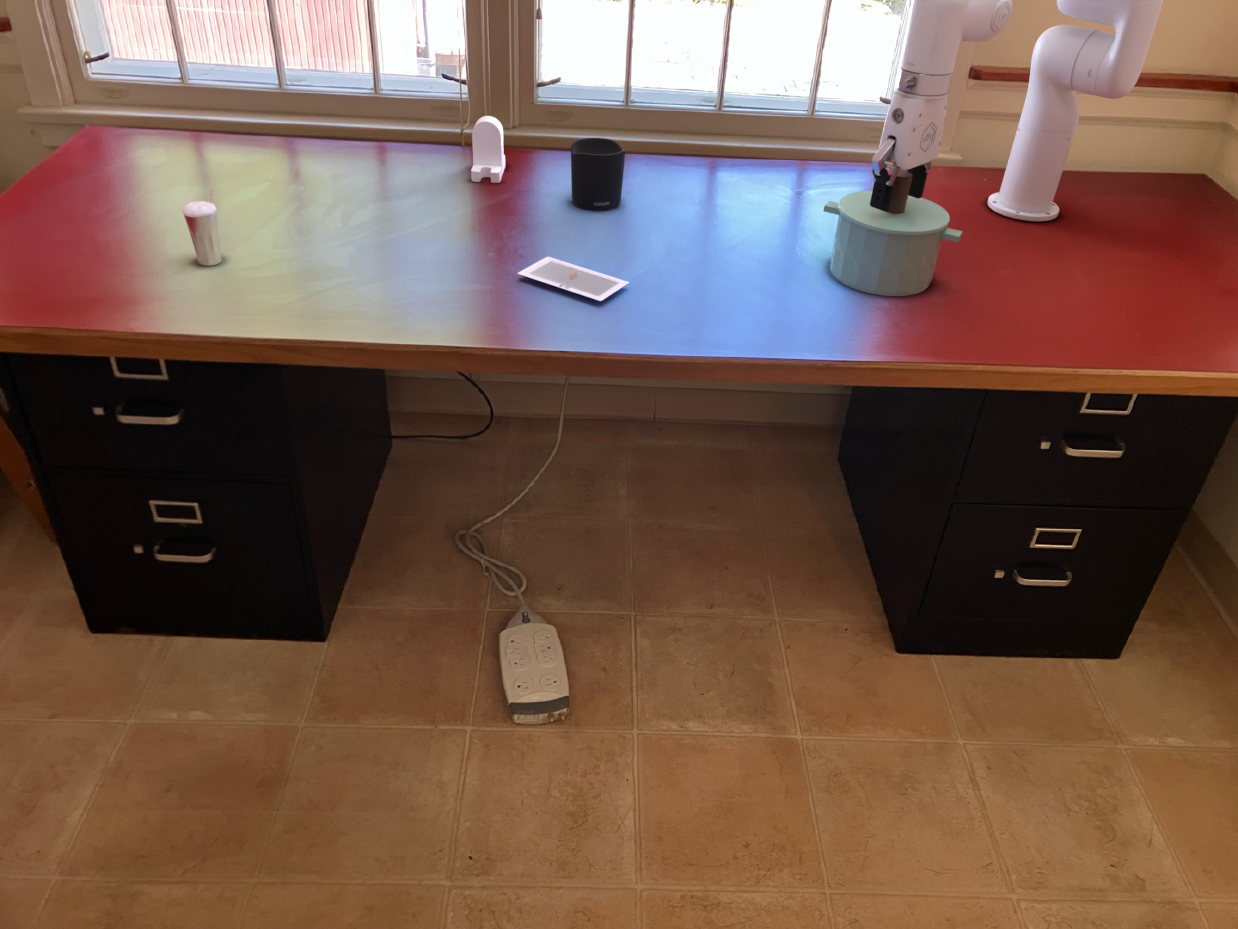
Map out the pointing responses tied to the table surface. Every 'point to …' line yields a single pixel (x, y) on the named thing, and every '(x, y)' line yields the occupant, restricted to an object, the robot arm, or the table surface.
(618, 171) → the pen holder
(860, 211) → the pot lid
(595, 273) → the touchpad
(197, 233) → the milkshake
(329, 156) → the table surface
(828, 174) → the table surface
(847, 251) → the pale green cooking pot
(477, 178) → the white phone stand
